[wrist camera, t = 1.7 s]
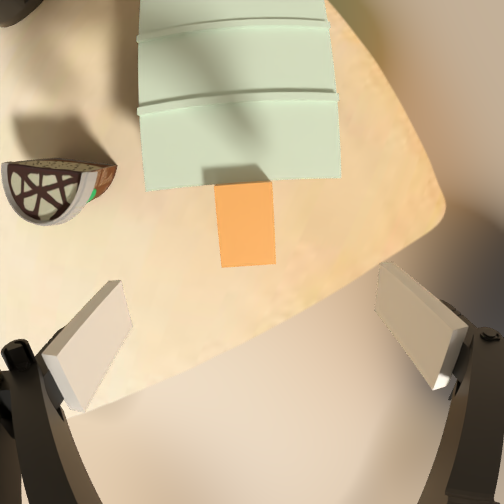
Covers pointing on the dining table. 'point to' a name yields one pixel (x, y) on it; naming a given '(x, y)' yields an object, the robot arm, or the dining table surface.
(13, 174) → the food container
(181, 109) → the lid
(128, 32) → the dining table surface
